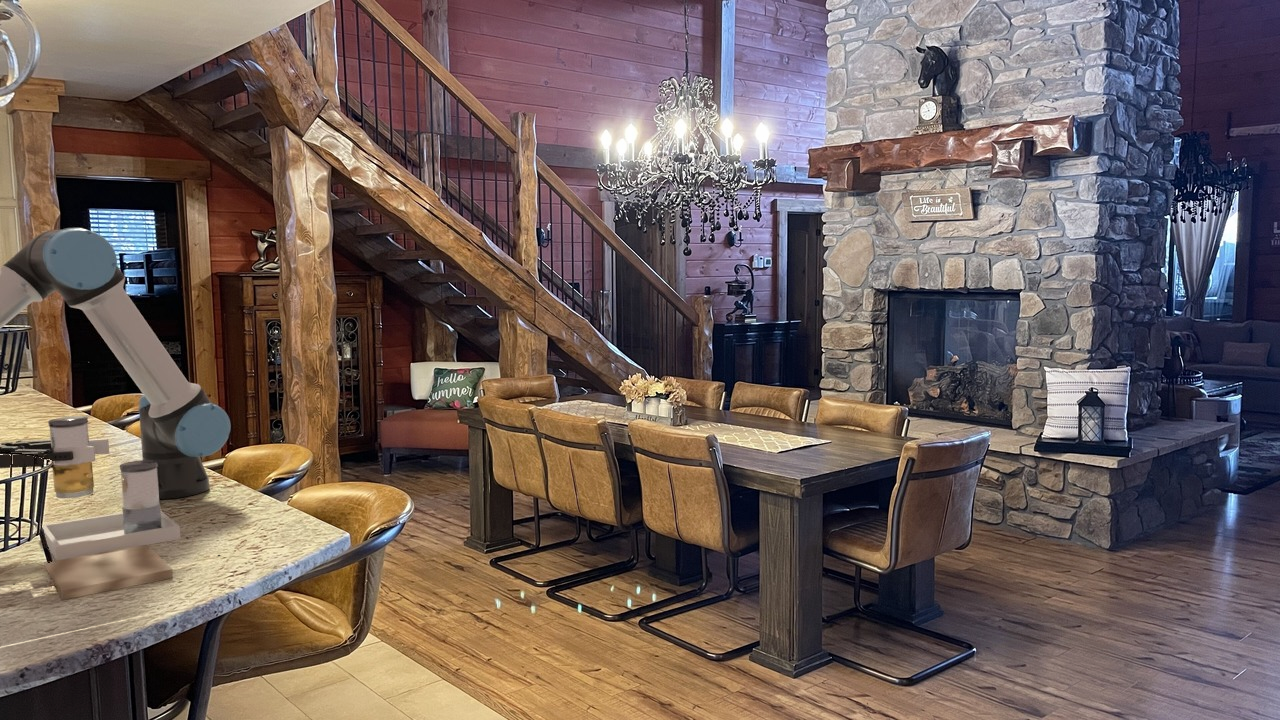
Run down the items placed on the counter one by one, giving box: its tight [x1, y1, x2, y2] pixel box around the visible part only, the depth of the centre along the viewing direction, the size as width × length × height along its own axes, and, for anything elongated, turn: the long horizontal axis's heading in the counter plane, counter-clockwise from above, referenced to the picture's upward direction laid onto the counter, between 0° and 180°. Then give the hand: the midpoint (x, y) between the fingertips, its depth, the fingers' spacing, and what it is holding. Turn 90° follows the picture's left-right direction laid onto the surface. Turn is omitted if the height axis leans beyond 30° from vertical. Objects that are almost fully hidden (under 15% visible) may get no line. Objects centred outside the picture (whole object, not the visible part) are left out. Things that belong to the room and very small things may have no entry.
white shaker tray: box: [42, 510, 181, 561], centre depth 180 cm, size 20×18×4 cm
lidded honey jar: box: [47, 415, 95, 499], centre depth 177 cm, size 6×6×14 cm
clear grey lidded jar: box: [119, 459, 162, 534], centre depth 180 cm, size 6×6×14 cm
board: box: [43, 545, 174, 601], centre depth 163 cm, size 16×18×2 cm
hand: (100, 449), depth 178 cm, fingers closed on lidded honey jar, 6 cm apart
